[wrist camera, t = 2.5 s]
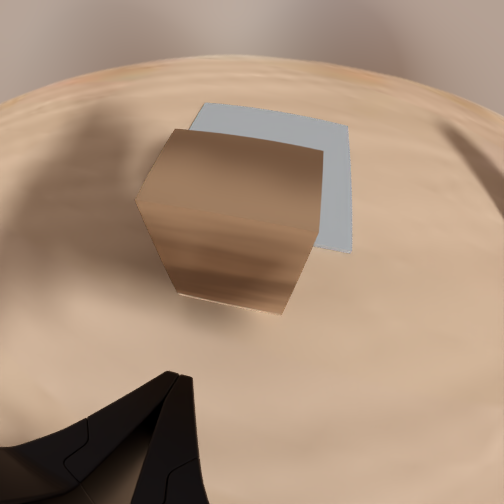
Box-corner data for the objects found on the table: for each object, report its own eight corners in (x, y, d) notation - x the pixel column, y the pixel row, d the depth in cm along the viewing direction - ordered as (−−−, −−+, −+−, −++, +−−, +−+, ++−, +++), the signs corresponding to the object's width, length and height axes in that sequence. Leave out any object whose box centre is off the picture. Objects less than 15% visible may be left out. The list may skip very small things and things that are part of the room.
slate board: (350, 253, 21) (351, 250, 21) (147, 215, 22) (146, 212, 22) (346, 128, 29) (347, 126, 29) (205, 105, 30) (205, 102, 30)
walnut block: (281, 315, 19) (318, 232, 10) (178, 294, 19) (135, 200, 11) (290, 256, 21) (323, 150, 12) (196, 238, 22) (175, 128, 13)
